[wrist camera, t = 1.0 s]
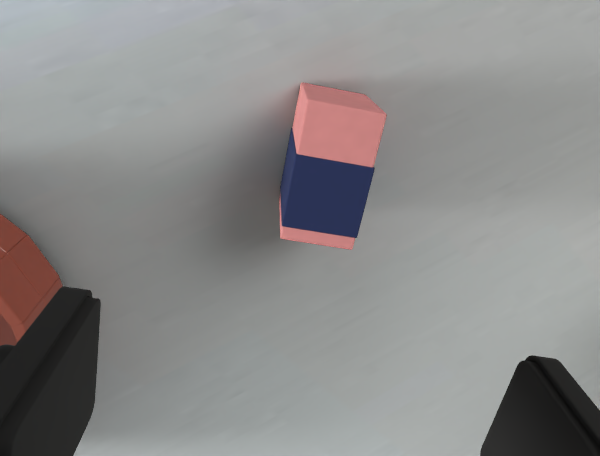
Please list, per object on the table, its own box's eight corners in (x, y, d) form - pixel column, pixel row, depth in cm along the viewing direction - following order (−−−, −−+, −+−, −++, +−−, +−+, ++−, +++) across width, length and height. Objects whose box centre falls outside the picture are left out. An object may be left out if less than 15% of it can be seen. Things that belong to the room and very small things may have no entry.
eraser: (300, 81, 24) (306, 98, 20) (367, 94, 25) (389, 114, 20) (277, 199, 27) (278, 239, 22) (339, 209, 27) (353, 251, 22)
